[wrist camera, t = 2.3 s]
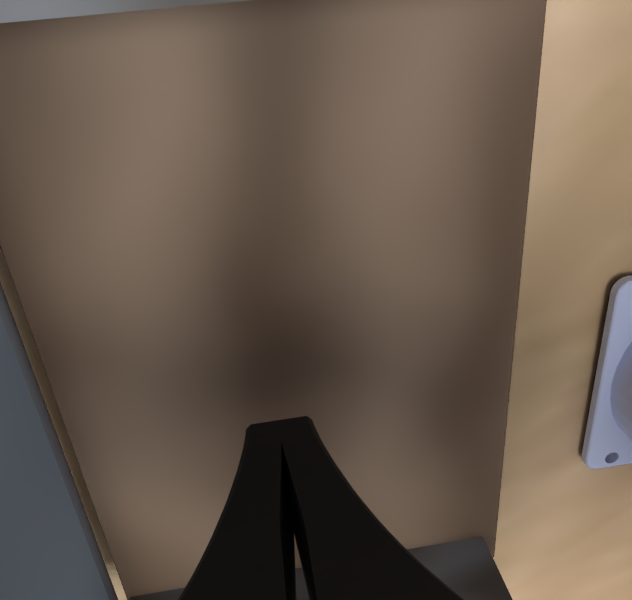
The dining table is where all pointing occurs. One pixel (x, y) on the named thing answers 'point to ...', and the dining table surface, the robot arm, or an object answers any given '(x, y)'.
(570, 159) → the dining table surface
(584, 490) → the dining table surface
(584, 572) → the dining table surface
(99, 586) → the bar
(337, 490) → the robot arm
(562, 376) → the dining table surface
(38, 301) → the flatbed
